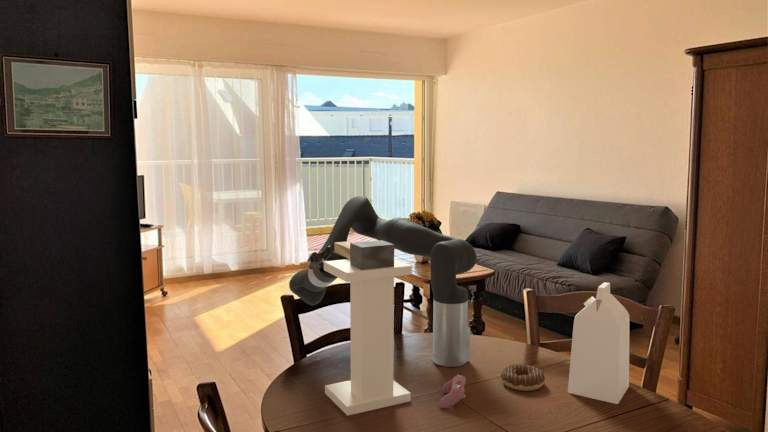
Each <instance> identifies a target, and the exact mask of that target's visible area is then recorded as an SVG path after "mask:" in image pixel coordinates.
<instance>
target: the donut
mask: <svg viewBox="0 0 768 432" xmlns="http://www.w3.org/2000/svg"><path fill="white" fill-rule="evenodd" d="M500 378H501V381H502V382H503V384H504V385H505V386H506V387H508V388H510V389H512V390H516V391H521V392H522V391H523V392H531V391H535V390H539V389H541V387H542V386H543V385H544V384H545V379H546V377H545V373H544V371H542V370H541V369H539V368H538V367H535V366H532V365H528V364H525V363H524V364H523V363H515V364H510V365H508V366H506V367H505V368H504V369H503V370H502V372H501V374H500Z"/></svg>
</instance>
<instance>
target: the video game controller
mask: <svg viewBox="0 0 768 432" xmlns="http://www.w3.org/2000/svg"><path fill="white" fill-rule="evenodd" d="M466 382H467V377H466V376H464V375H462V374H461V375H460V374H456V375H454V377H453V378H451V379H450V380H449V381H447V382H445V383H444V384H442V387H441V391H442V392H443V393H444V394H446V395H444V396H442V397H441V399H439V400H438V403H437V404H438V407H439V408H440V409H449V408H451V407H453V406H456V405H457V404H458V402H460V400H461V399H462V400H464V399H465V398H466V394H465V385H466Z"/></svg>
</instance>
